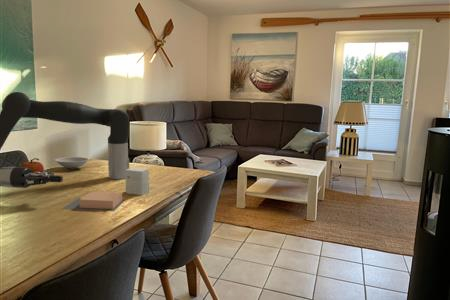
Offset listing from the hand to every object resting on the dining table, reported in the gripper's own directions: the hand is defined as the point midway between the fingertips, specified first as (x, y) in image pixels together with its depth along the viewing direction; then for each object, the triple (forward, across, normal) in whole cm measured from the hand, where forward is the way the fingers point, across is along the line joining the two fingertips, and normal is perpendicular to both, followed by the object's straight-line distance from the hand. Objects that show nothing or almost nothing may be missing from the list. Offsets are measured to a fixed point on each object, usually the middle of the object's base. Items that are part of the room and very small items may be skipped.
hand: (61, 179), depth 127 cm
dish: (-24, +59, +10) cm, 64 cm away
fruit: (-32, +34, +10) cm, 47 cm away
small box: (+23, +17, +10) cm, 30 cm away
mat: (+12, 0, +10) cm, 16 cm away
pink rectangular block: (+9, 0, +7) cm, 11 cm away
